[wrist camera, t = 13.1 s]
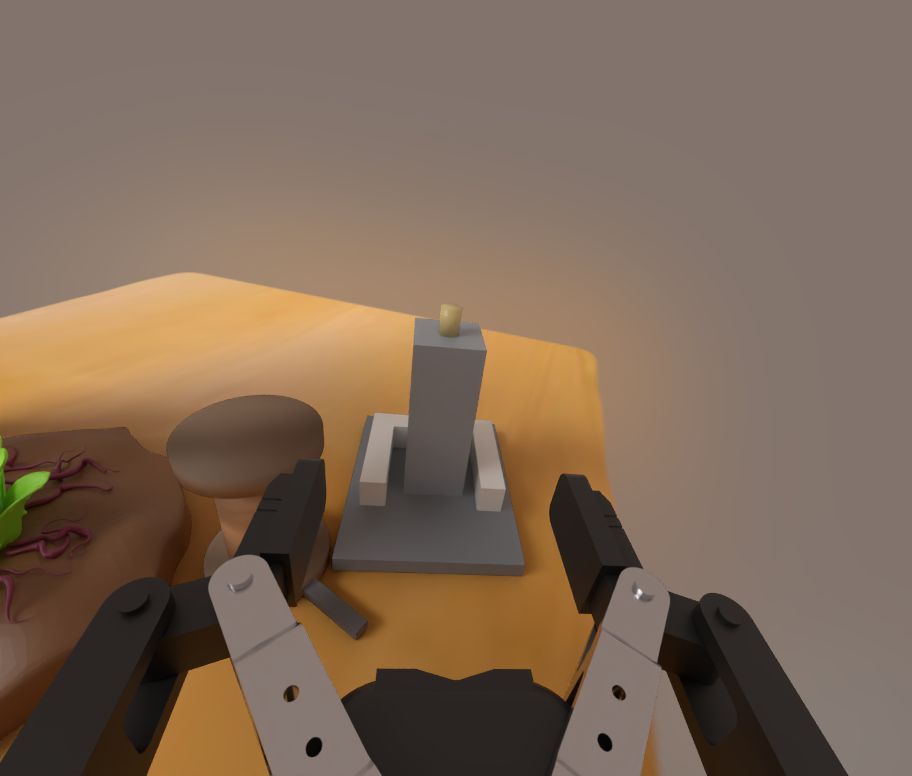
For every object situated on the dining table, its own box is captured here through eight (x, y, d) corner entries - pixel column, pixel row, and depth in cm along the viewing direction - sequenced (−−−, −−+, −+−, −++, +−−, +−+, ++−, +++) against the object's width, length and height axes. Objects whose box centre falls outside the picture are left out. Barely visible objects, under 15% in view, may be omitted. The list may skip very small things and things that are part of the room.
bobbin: (201, 538, 24) (163, 410, 19) (312, 501, 27) (303, 385, 23) (224, 709, 17) (175, 574, 13) (369, 632, 20) (372, 504, 16)
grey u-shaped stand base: (522, 576, 24) (532, 542, 23) (332, 570, 23) (330, 534, 22) (492, 433, 36) (498, 405, 35) (367, 425, 35) (367, 395, 34)
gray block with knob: (462, 496, 28) (491, 323, 21) (403, 494, 27) (415, 316, 21) (458, 457, 31) (482, 298, 25) (405, 455, 31) (417, 292, 24)
